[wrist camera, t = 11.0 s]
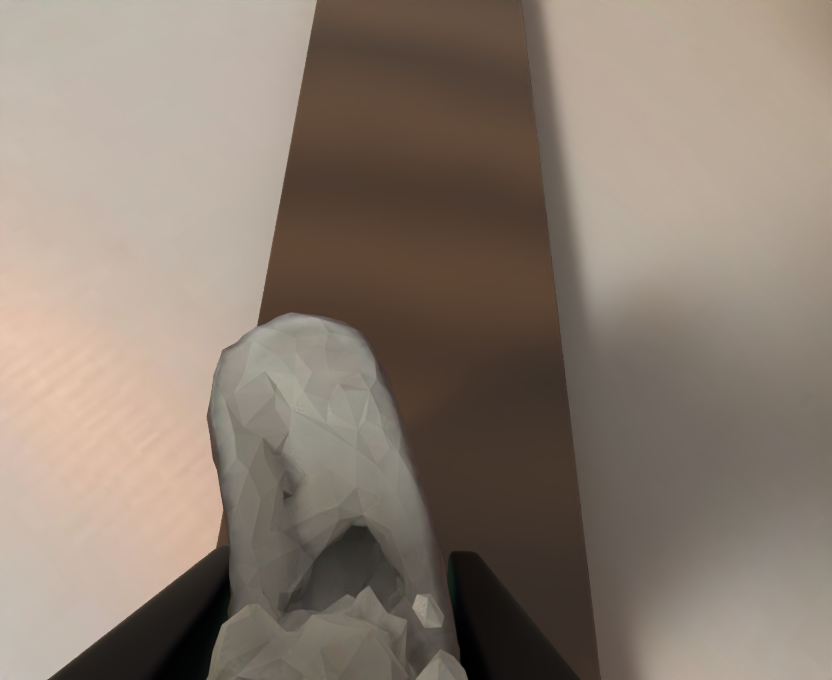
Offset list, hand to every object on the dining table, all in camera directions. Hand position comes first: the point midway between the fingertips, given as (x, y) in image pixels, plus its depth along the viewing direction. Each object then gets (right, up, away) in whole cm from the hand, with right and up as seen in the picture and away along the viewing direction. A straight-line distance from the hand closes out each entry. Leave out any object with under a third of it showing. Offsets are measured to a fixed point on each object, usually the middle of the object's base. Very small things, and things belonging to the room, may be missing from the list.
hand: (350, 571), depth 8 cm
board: (+1, +8, +13) cm, 15 cm away
